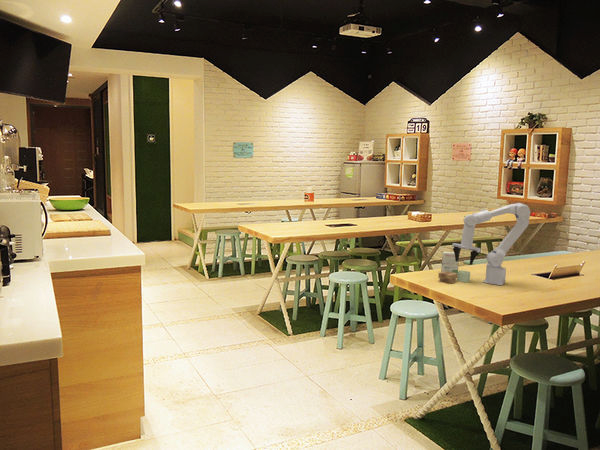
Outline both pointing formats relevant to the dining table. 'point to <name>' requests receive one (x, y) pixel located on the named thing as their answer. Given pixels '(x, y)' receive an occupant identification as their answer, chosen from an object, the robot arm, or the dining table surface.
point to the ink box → (449, 262)
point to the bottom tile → (447, 280)
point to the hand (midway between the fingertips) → (463, 262)
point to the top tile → (447, 275)
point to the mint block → (463, 276)
